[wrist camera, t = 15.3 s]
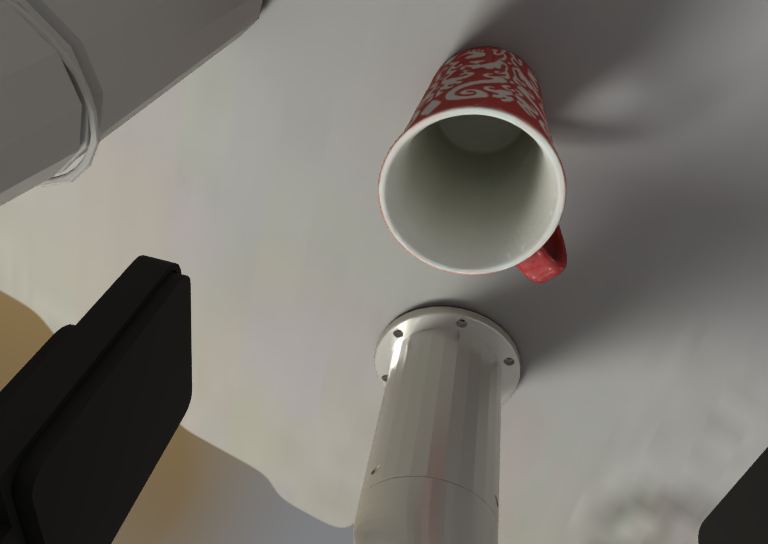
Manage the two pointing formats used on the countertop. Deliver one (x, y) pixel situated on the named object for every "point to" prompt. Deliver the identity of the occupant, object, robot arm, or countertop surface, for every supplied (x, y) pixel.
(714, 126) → the countertop surface
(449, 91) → the mug
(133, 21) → the water bottle
